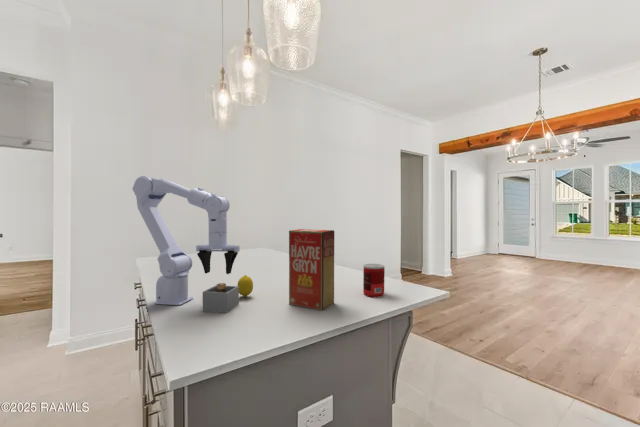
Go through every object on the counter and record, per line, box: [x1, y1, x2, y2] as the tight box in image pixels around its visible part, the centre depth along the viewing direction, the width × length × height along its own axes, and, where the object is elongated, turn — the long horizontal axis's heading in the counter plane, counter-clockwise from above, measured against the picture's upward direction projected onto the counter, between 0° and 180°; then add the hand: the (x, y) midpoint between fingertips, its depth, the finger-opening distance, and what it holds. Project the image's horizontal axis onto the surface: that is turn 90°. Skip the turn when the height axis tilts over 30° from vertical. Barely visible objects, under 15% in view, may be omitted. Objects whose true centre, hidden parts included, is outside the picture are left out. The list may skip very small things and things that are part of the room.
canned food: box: [362, 263, 385, 298], centre depth 111 cm, size 8×8×11 cm
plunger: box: [216, 282, 227, 292], centre depth 95 cm, size 6×6×7 cm
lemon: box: [236, 274, 254, 298], centre depth 106 cm, size 6×6×8 cm
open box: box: [202, 284, 240, 314], centre depth 95 cm, size 8×8×6 cm
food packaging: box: [288, 228, 335, 311], centre depth 99 cm, size 13×9×25 cm
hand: (217, 273), depth 98 cm, fingers open, 7 cm apart
